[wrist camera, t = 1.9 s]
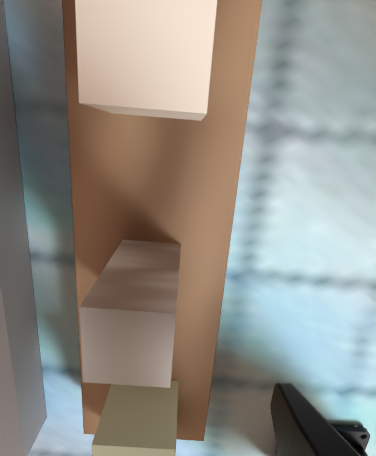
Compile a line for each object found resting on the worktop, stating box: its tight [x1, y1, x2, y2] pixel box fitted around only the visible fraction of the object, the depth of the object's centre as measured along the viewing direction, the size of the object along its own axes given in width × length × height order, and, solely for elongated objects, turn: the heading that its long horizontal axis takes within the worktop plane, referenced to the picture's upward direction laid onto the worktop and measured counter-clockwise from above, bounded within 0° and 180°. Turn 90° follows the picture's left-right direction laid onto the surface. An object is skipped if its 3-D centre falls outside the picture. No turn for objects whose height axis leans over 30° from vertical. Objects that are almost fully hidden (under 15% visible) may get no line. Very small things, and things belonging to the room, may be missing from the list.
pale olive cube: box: [92, 380, 179, 456], centre depth 16 cm, size 4×4×4 cm
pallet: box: [62, 0, 262, 441], centre depth 13 cm, size 8×25×9 cm, turn 176°
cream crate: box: [75, 0, 217, 121], centre depth 10 cm, size 4×4×4 cm
